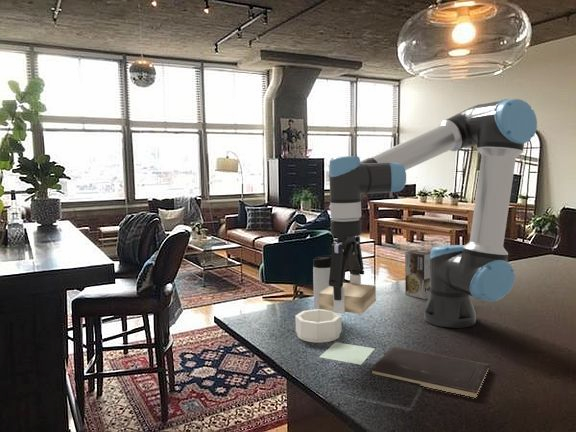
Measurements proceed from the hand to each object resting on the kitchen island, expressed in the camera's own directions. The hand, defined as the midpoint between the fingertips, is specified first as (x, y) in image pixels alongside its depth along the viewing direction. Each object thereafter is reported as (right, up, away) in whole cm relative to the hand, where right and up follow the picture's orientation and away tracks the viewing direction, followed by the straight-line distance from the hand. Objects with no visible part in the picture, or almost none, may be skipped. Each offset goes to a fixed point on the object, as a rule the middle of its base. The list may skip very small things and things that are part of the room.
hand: (348, 305), depth 120 cm
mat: (0, -13, +1) cm, 13 cm away
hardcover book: (+18, -14, -10) cm, 25 cm away
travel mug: (-4, -10, +31) cm, 33 cm away
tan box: (0, 0, 0) cm, 0 cm away
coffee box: (+33, -7, +54) cm, 63 cm away
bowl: (-6, -12, +15) cm, 20 cm away
